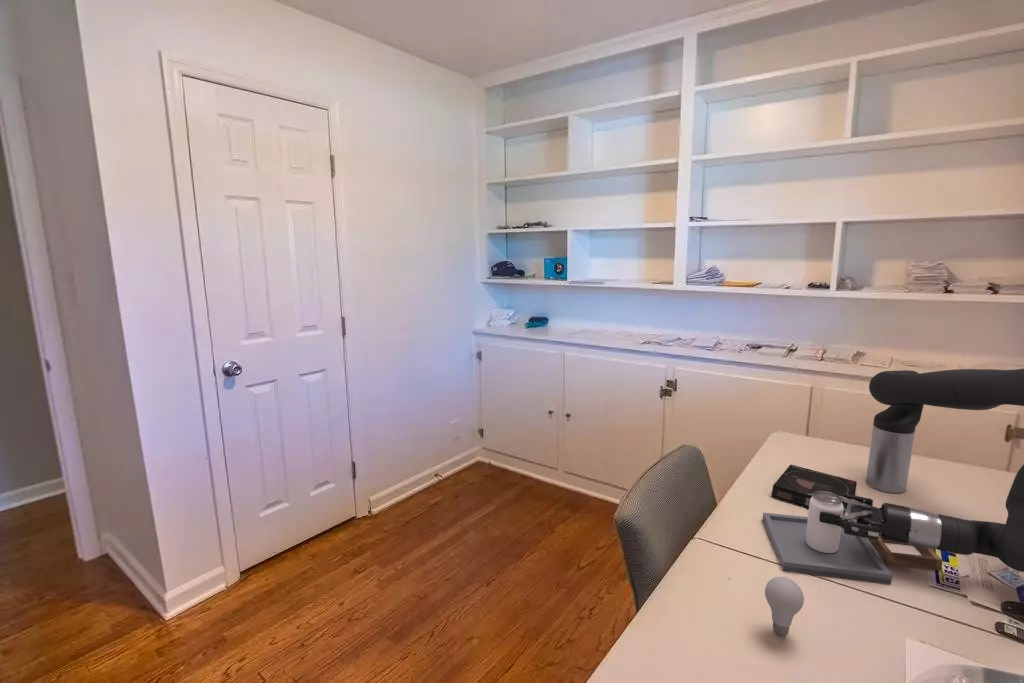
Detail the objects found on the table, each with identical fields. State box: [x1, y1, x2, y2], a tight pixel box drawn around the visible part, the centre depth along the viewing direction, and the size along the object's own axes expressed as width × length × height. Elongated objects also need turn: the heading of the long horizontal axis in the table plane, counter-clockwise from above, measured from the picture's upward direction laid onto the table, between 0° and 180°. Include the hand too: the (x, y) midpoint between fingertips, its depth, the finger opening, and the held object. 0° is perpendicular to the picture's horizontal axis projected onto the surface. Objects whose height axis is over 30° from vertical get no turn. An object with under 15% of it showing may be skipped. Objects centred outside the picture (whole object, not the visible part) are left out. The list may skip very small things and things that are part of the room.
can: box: [806, 491, 844, 554], centre depth 115 cm, size 6×6×12 cm
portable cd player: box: [771, 464, 858, 516], centre depth 140 cm, size 16×17×4 cm
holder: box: [867, 532, 944, 572], centre depth 115 cm, size 10×10×2 cm
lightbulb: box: [764, 576, 805, 637], centre depth 92 cm, size 6×6×11 cm
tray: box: [762, 512, 893, 585], centre depth 117 cm, size 20×20×2 cm
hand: (819, 507), depth 115 cm, fingers open, 8 cm apart
